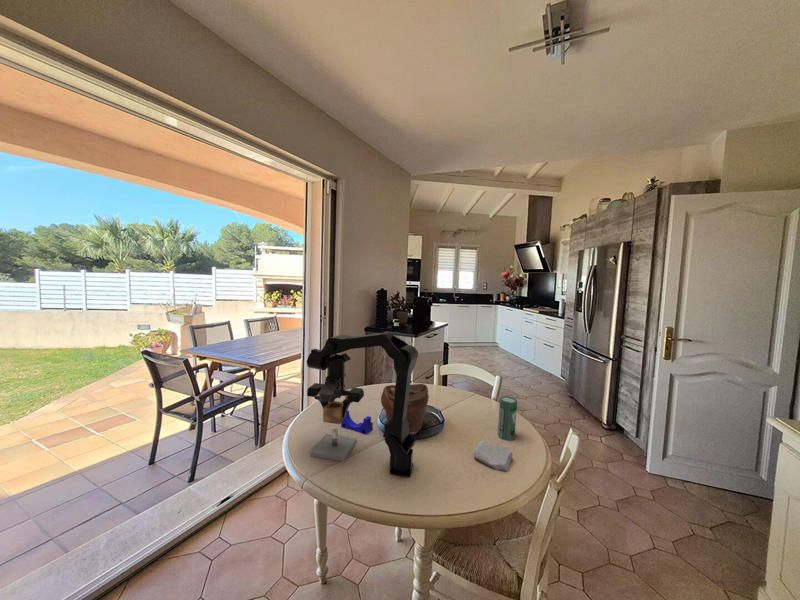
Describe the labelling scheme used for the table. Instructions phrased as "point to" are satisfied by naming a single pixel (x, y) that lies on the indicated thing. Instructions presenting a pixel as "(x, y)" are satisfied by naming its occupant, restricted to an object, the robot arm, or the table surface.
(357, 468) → the table surface
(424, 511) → the table surface
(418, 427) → the brown pot
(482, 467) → the table surface
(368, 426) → the blue curved bracket
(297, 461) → the table surface
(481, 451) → the stone block
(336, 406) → the wooden hollow block
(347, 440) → the post stand
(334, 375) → the robot arm
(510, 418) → the can
